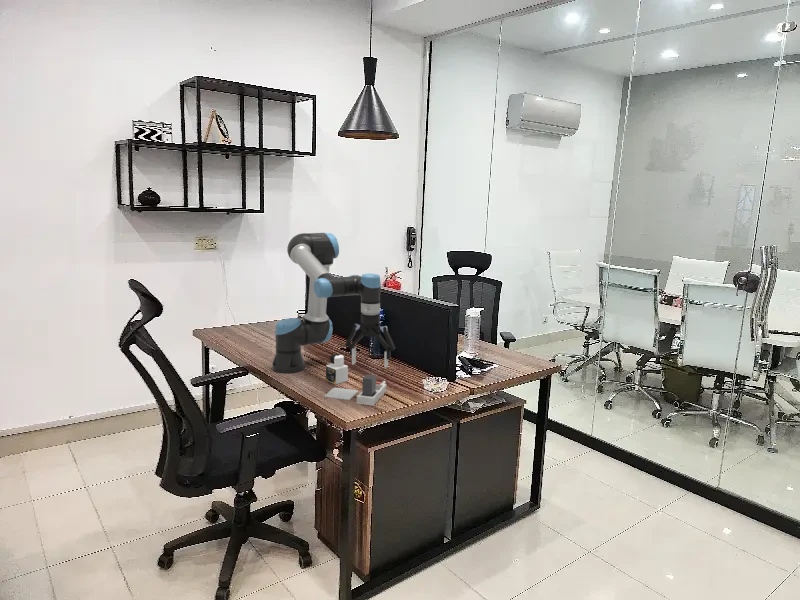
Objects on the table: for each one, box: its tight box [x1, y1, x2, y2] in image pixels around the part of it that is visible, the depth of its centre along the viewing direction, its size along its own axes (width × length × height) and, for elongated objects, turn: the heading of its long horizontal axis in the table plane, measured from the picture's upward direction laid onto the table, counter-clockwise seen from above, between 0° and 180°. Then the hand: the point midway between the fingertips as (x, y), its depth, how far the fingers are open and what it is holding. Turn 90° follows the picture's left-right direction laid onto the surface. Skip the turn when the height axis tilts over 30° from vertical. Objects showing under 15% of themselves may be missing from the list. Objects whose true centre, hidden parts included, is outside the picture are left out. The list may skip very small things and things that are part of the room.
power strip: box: [356, 380, 388, 407], centre depth 234 cm, size 27×7×4 cm, turn 165°
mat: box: [323, 387, 359, 401], centre depth 232 cm, size 11×11×1 cm
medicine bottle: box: [325, 353, 349, 385], centre depth 247 cm, size 7×7×12 cm
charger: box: [361, 374, 377, 397], centre depth 225 cm, size 5×4×10 cm
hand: (369, 365), depth 223 cm, fingers open, 13 cm apart
